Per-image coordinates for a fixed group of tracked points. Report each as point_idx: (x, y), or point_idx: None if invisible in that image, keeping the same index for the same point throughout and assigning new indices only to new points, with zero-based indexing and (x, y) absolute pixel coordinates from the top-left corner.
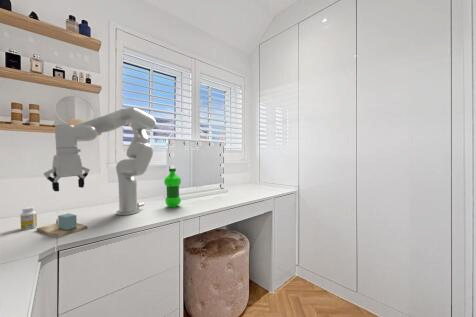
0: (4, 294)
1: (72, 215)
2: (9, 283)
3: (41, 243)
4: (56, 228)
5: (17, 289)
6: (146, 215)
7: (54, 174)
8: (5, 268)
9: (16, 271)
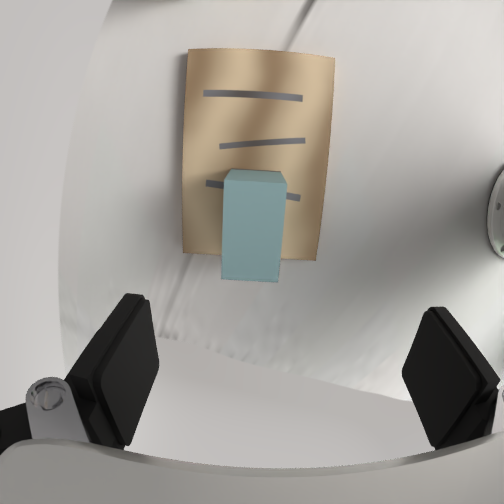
0: None
1: (264, 268)
2: None
3: (136, 264)
4: (229, 152)
5: None
6: (486, 318)
7: (16, 478)
8: (63, 348)
9: None
